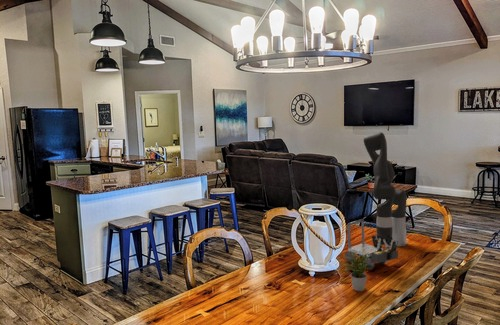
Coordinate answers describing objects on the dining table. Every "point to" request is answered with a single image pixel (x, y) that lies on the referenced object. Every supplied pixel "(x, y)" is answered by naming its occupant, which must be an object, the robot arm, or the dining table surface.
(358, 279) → the house plant
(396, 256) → the block
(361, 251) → the trolley
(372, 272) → the dining table surface
